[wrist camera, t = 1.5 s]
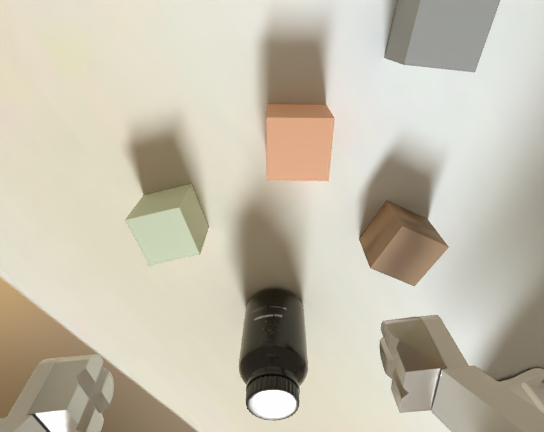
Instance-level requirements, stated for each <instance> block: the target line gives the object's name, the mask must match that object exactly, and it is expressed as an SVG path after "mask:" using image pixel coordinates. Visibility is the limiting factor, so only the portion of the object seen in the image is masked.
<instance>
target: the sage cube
mask: <svg viewBox="0 0 544 432" xmlns="http://www.w3.org/2000/svg"><path fill="white" fill-rule="evenodd" d="M125 221H126V223H127V225H128V227H129V229H130V231H131V232H132V234H133V236H134V238H135V240H136V242H137V244H138V246H139V247H140V249H141V251H142V253H143V255H144V257H145V259H146V261H147V262H148V264H149V265H154V264H158V263H163V262H168V261H173V260H177V259H182V258H187V257H191V256H196V255H200V253H201V250H202V247H203V244H204V240H205V237H206V234H207V231H208V228H209V226H208V223H207V221H206V218H205V216H204V213H203V211H202V208H201V206H200V203H199V201H198V198H197V196H196V193H195V191H194V189H193V186H192V184H188V185H183V186H179V187H175V188H171V189H167V190H163V191H159V192H155V193H151V194H147V195H143V197H142V198H141V199H140V201H139V202H138V203H137V205H136V206H135V207H134V209H133V210H132V211H131V213H130V214H129V215H128V217H127V218H126V219H125Z"/></svg>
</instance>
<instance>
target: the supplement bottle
mask: <svg viewBox="0 0 544 432" xmlns="http://www.w3.org/2000/svg"><path fill="white" fill-rule="evenodd" d="M239 372H240V375H241V377H242V379H243V381H244V382H245V384H246V385H247V386H246V392H247V393H246V406H247V409H248V410H249V412H251V413H252V414H253V415H255V416H256V417H259V418H262V419H265V420H281V419H285V418H289V417H290V416H292V415H293V414H294V413H295V412H296V411H297V410H298V407H299V392H300V390H299V386H300V385H301V384H302V383H303V381H304V380H305V378H306V375H307V372H308V360H307V347H306V334H305V320H304V310H303V306H302V303H301V302H300V300H299V299H298V298H297V297H296V296H295V295H294V294H292V293H290V292H288V291H286V290H282V289H266V290H263V291H260V292H258V293H257V294H255V295H254V296H253V297H252V298H251V299H250V300H249V302H248V304H247V307H246V312H245V319H244V327H243V335H242V343H241V351H240V359H239Z"/></svg>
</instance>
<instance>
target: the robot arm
mask: <svg viewBox="0 0 544 432" xmlns="http://www.w3.org/2000/svg"><path fill="white" fill-rule="evenodd" d="M381 331H382V334H383V338H382V339H381V340H380V354H381V360H382V363H383V367H384V370H385V373H386V374H387V375H388V376H389V377H390V378H392V386H391V390H392V393H393V395H394V398H395V401H396V404H397V406H398V409H399V412H400V413H402V412H414V411H427V410H432V413H433V414H434V415H435V416H436V417H437V418H438V419H439V420H440V421H441V422H442V423H443V424H444V425H445V426H446V427H447V428H448V429H449V430H450V431H451V432H544V369H540V368H534V369H531V370H528V371H526V372H524V373H522V374H520V375H518V376H516V377H514V378H511V379H507V380H503V381H499V382H498V381H496V380H495V379H493V378H492V377H491V376H489V375H488V374H486V373H485V372H483V371H482V370H480V369H479V368H477V367H476V366H469V365H468V364H467V362H466V360H465V359H464V357H463V355H462V353H461V352H460V350H459V348H458V347H457V345H456V343H455V342H454V340H453V338H452V337H451V335H450V333H449V332H448V330H447V328H446V326H445V325H444V323H443V321H442V320H441V318H440V317H439V316H438V315H429V316H421V317H409V318H402V319H394V320H386V321H383V322H382V324H381ZM102 364H103V360H102V358H101V357H100V355H99V354H96V355H85V356H75V357H62V358H53V359H44V360H42V361H41V362H40V363H39V364H38V365H37V366H36V368H35V370H34V372H33V373H32V375H31V377H30V378H29V380H28V382H27V384H26V385H25V387H24V389H23V390H22V392H21V394H20V395H19V397H18V399H17V401H16V402H15V404H14V406H13V408H12V409H11V411H10V413H9V414H8V416H7V417H6V418H1V419H0V432H100V431H101V428H102V425H103V422H104V419H103V416H102V412H103V411H104V410H105V409H106V408H107V407H108V406H109V405H110V402H111V399H112V395H113V388H114V382H113V377H112V375H111V373H110V371H109V370H107V369H105V368H103V367H102Z"/></svg>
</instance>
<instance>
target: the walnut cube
mask: <svg viewBox="0 0 544 432" xmlns="http://www.w3.org/2000/svg"><path fill="white" fill-rule="evenodd" d="M359 240H360V243H361V245H362V248H363V251H364V253H365V256H366V258H367V261H368V264H369V266H370V268H372V269H374V270H376V271H379V272H381V273H384V274H386V275H388V276H391V277H393V278H396V279H398V280H401V281H403V282H405V283H408V284H410V285H413V286H415V285H416V284H417V283H418V282H419V281H420V279H421V278H422V277H423V276H424V275H425V274H426V273H427V271H428V270H429V269H430V268H431V267H432V266H433V265H434V263H435V262H436V261H437V260H438V259H439V258H440V257H441V255H442V254H443V253H444V252H445V251H446V250H447V248H448V245H447V244H446V243H445V242H444V240H443V239H442V238H441V236H440V235H439V234H438V232H437V231H436V230H435V228H434V227H433V226H432V225H431V223H430V222H429V221H428V220H427V219H425V218H423V217H421V216H419V215H417V214H414V213H412V212H410V211H408V210H406V209H404V208H402V207H399V206H397V205H395V204H393V203H391V202H389V201H386V202H385V203H384V205H383V206H382V208H381V209H380V210H379V212H378V213H377V215H376V216H375V217H374V219H373V220H372V222H371V223H370V224H369V226H368V227H367V229H366V230H365V231H364V233H363V234H362V236H361V237H360V238H359Z"/></svg>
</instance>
